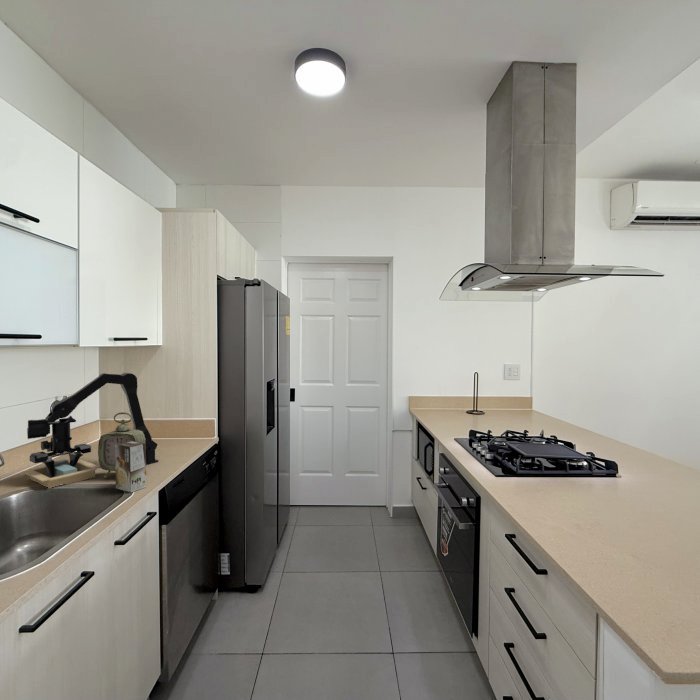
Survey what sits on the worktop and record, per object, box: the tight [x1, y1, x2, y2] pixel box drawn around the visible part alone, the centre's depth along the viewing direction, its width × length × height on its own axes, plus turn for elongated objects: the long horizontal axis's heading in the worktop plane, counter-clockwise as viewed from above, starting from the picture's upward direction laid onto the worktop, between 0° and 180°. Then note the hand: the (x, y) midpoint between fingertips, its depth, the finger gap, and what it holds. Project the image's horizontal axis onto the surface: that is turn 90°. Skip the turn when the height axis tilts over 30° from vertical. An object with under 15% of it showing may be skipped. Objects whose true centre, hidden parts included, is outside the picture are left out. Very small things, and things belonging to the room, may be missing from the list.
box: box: [45, 458, 78, 478], centre depth 155 cm, size 14×6×6 cm, turn 56°
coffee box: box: [115, 441, 147, 493], centre depth 145 cm, size 9×6×16 cm
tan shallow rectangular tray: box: [23, 458, 101, 490], centre depth 155 cm, size 21×19×4 cm
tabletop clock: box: [97, 411, 146, 479], centre depth 157 cm, size 14×9×25 cm, turn 92°
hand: (62, 475), depth 156 cm, fingers open, 6 cm apart
